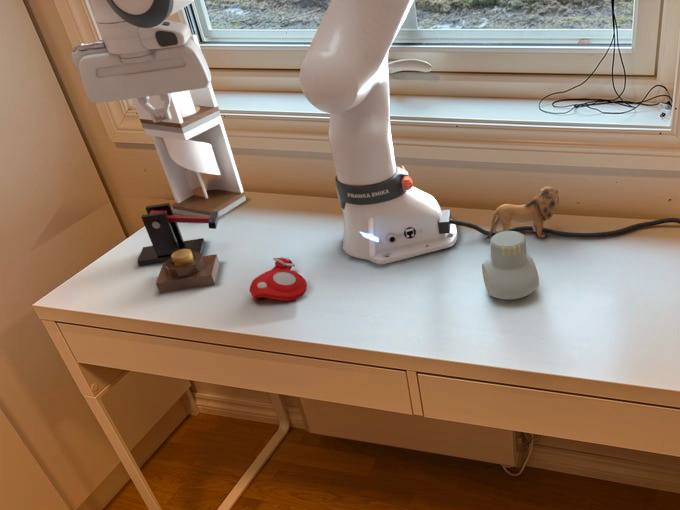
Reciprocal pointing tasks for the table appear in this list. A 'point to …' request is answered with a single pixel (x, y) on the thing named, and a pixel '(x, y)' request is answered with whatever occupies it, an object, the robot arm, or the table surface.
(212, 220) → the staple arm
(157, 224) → the black lever base
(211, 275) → the block
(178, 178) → the display case
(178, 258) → the bell button
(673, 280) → the table surface
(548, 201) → the lion figurine
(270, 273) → the tracker holder
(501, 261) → the air freshener
